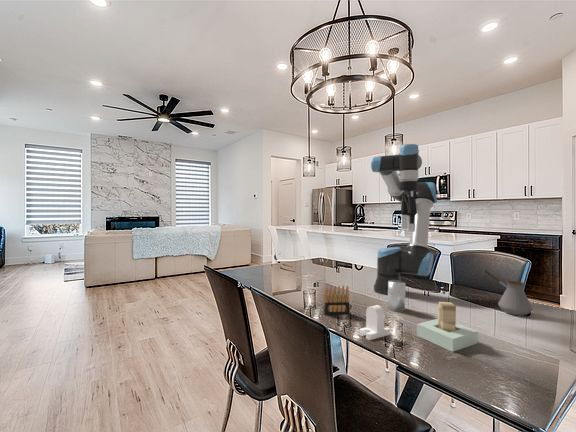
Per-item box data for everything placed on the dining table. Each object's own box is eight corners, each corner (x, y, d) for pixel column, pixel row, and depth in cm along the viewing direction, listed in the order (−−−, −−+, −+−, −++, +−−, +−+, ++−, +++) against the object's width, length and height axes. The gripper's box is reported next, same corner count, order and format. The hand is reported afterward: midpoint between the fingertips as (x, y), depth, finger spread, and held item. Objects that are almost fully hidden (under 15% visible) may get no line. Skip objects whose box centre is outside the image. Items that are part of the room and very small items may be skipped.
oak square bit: (438, 336, 101) (438, 301, 100) (450, 337, 100) (451, 302, 100) (442, 341, 97) (442, 305, 96) (455, 342, 96) (455, 306, 96)
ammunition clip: (348, 312, 123) (348, 284, 123) (349, 314, 121) (350, 285, 121) (323, 313, 123) (323, 285, 122) (324, 314, 121) (324, 286, 120)
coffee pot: (539, 316, 119) (540, 280, 119) (516, 318, 117) (517, 281, 117) (493, 300, 140) (494, 269, 140) (473, 301, 138) (473, 270, 138)
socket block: (441, 328, 107) (441, 317, 107) (477, 343, 95) (478, 331, 95) (416, 335, 101) (417, 324, 101) (452, 351, 90) (452, 339, 90)
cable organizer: (390, 334, 102) (390, 306, 102) (369, 340, 97) (369, 310, 97) (379, 328, 107) (379, 301, 107) (358, 334, 102) (358, 306, 102)
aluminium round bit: (395, 305, 133) (396, 279, 132) (408, 310, 126) (409, 282, 126) (384, 307, 129) (384, 281, 129) (396, 313, 123) (397, 284, 123)
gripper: (394, 183, 138) (393, 228, 139) (405, 178, 114) (404, 232, 114) (411, 183, 137) (410, 228, 137) (425, 177, 112) (424, 232, 113)
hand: (407, 230), depth 126 cm, fingers open, 13 cm apart
